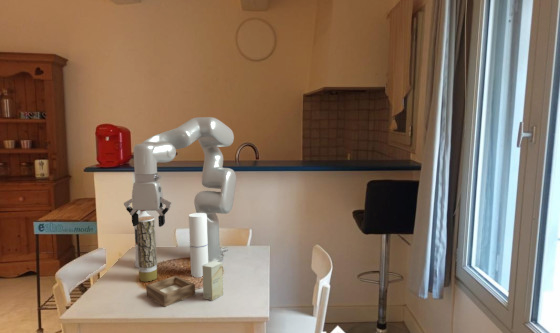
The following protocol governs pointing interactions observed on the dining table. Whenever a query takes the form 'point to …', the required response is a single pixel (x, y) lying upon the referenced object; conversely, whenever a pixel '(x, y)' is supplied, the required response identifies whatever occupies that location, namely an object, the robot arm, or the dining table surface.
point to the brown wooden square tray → (170, 290)
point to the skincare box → (212, 280)
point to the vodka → (142, 214)
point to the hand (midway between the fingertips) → (148, 225)
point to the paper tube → (146, 248)
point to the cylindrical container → (198, 243)
